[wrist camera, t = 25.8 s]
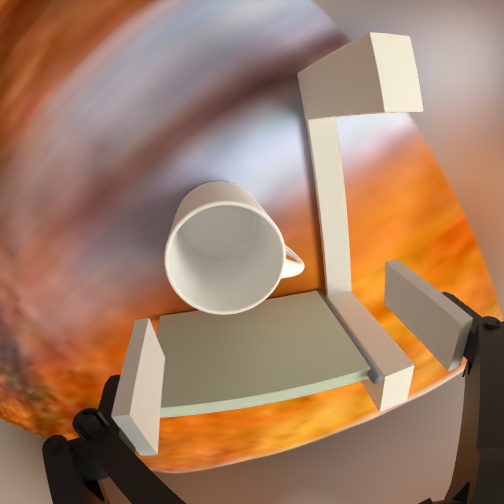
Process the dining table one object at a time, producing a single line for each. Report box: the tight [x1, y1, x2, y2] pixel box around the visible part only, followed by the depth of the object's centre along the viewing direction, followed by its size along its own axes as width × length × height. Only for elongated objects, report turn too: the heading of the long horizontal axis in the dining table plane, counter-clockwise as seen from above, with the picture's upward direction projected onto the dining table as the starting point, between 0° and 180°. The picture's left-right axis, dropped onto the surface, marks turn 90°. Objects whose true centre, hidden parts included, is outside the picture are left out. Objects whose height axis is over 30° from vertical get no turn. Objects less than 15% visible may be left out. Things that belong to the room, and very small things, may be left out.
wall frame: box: [297, 32, 423, 412], centre depth 26 cm, size 30×3×15 cm, turn 11°
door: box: [156, 289, 383, 418], centre depth 29 cm, size 19×3×16 cm, turn 97°
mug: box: [164, 181, 304, 315], centre depth 27 cm, size 9×12×11 cm
